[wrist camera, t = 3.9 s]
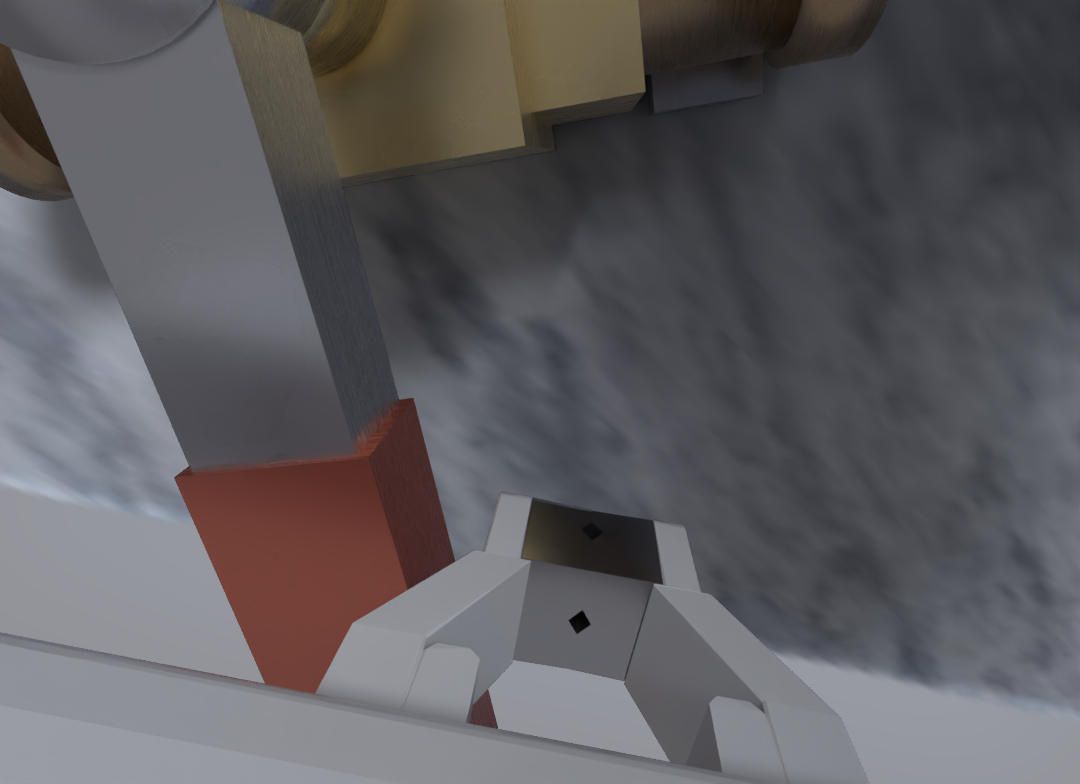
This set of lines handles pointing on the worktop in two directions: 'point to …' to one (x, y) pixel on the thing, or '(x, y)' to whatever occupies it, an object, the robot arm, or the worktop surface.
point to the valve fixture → (499, 74)
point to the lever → (244, 304)
